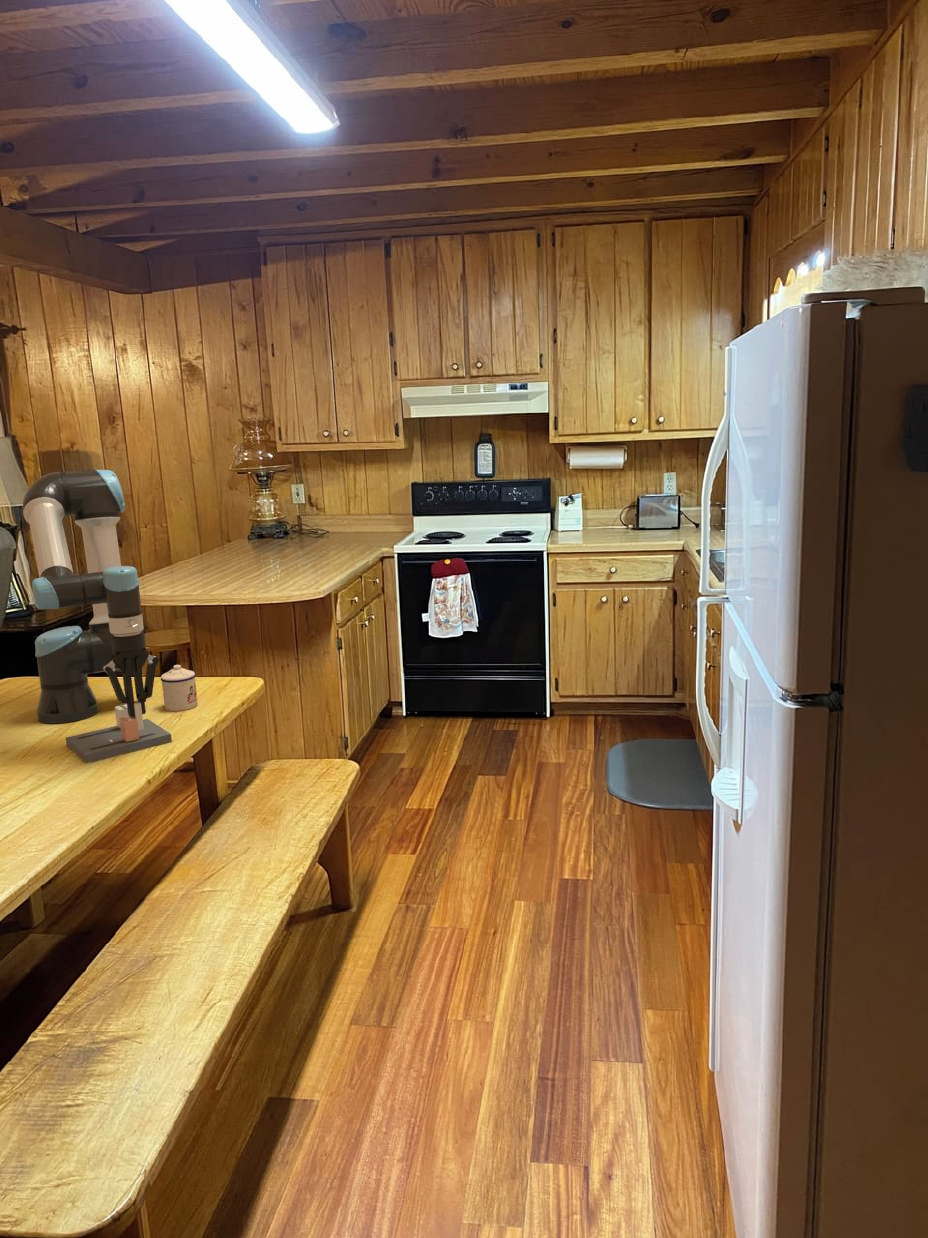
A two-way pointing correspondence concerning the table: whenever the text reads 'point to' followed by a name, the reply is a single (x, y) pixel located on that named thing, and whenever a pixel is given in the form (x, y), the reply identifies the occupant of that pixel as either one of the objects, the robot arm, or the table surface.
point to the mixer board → (115, 742)
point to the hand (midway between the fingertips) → (138, 728)
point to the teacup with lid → (179, 689)
